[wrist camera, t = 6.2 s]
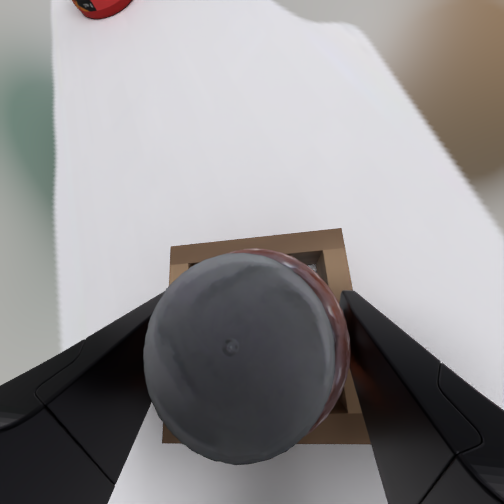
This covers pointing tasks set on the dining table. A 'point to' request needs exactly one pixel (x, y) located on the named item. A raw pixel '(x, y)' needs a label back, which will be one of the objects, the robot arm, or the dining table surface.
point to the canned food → (100, 7)
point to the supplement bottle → (246, 355)
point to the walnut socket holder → (338, 279)
